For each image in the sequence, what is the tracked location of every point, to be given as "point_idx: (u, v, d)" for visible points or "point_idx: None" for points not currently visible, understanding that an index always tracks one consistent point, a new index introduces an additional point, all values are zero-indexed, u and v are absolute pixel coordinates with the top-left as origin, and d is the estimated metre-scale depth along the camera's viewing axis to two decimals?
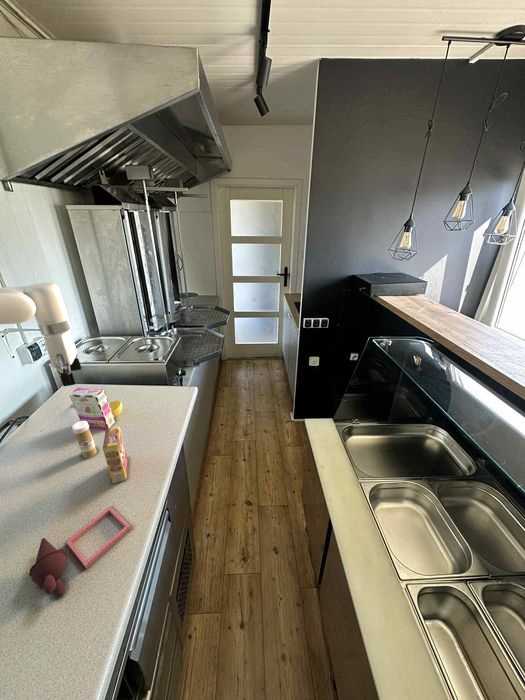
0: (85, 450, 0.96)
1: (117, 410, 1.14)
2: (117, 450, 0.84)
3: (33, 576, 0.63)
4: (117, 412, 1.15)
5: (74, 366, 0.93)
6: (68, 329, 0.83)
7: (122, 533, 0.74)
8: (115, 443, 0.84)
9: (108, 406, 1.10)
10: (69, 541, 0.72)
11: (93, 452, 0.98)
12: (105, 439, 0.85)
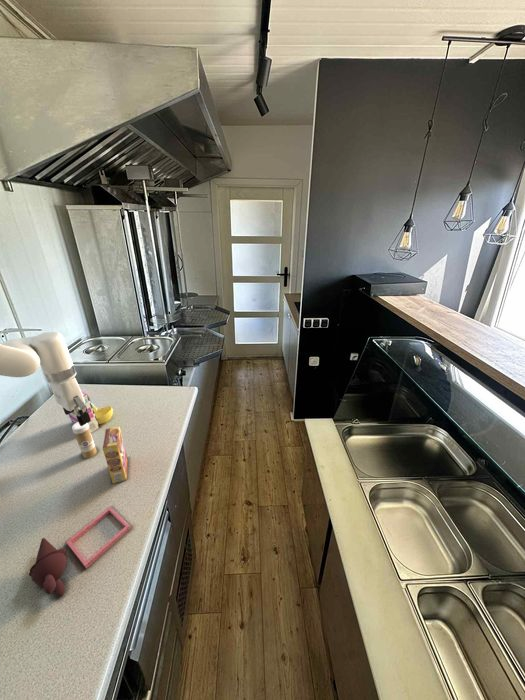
0: (85, 450, 0.96)
1: (102, 417, 1.11)
2: (117, 450, 0.84)
3: (33, 576, 0.63)
4: (103, 419, 1.11)
5: None
6: (75, 371, 0.87)
7: (122, 533, 0.74)
8: (115, 443, 0.84)
9: (91, 411, 1.07)
10: (69, 541, 0.72)
11: (93, 452, 0.98)
12: (105, 439, 0.85)
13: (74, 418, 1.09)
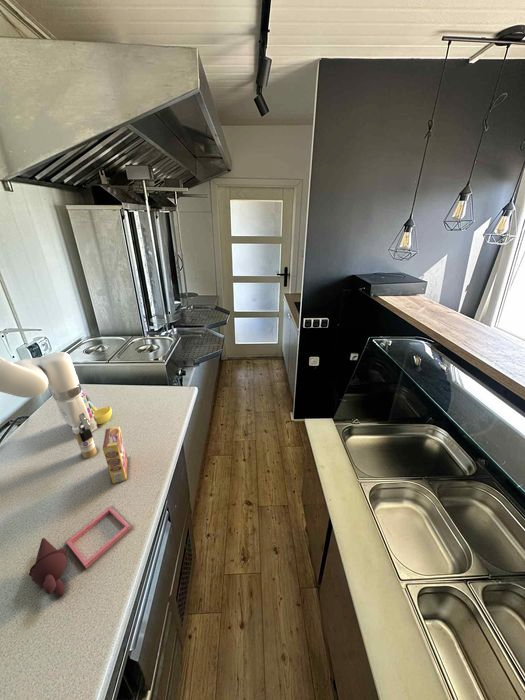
0: (85, 450, 0.96)
1: (101, 417, 1.11)
2: (117, 450, 0.84)
3: (33, 576, 0.63)
4: (102, 419, 1.11)
5: None
6: (81, 389, 0.90)
7: (122, 533, 0.74)
8: (115, 443, 0.84)
9: (90, 412, 1.07)
10: (69, 541, 0.72)
11: (93, 452, 0.98)
12: (105, 439, 0.85)
13: None
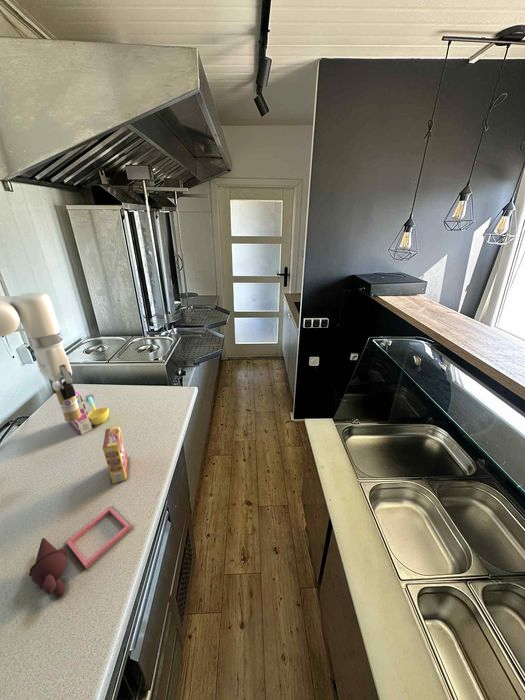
0: (67, 410, 0.86)
1: (96, 419, 1.10)
2: (117, 450, 0.84)
3: (33, 576, 0.63)
4: (96, 420, 1.10)
5: None
6: (62, 338, 0.80)
7: (122, 533, 0.74)
8: (115, 443, 0.84)
9: (84, 412, 1.07)
10: (69, 541, 0.72)
11: (76, 414, 0.88)
12: (105, 439, 0.85)
13: None
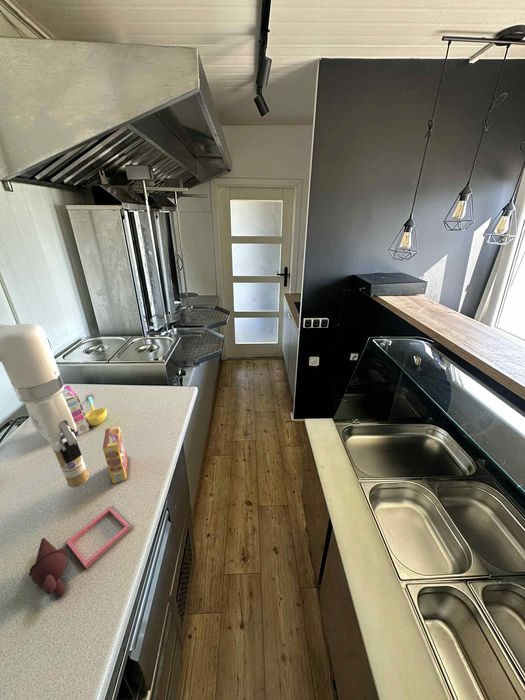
0: (71, 474, 0.64)
1: (93, 419, 1.10)
2: (117, 450, 0.84)
3: (33, 576, 0.63)
4: (94, 421, 1.10)
5: None
6: (63, 383, 0.58)
7: (122, 533, 0.74)
8: (115, 443, 0.84)
9: (81, 413, 1.06)
10: (69, 541, 0.72)
11: (83, 477, 0.67)
12: (105, 439, 0.85)
13: None
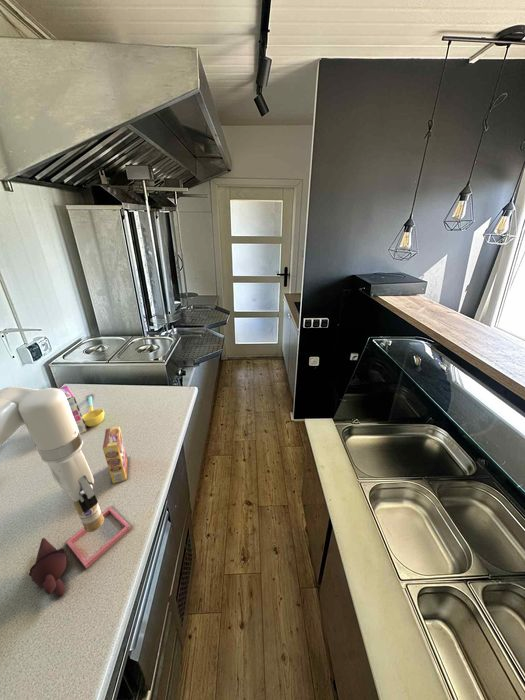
0: (88, 520, 0.68)
1: (90, 421, 1.09)
2: (117, 450, 0.84)
3: (33, 576, 0.63)
4: (91, 422, 1.09)
5: None
6: (81, 440, 0.62)
7: (122, 533, 0.74)
8: (115, 443, 0.84)
9: (78, 414, 1.06)
10: (69, 541, 0.72)
11: (99, 521, 0.70)
12: (105, 439, 0.85)
13: None
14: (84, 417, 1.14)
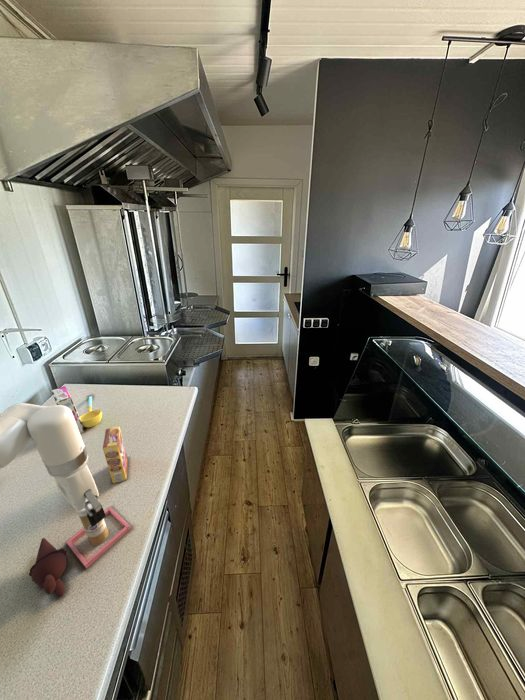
0: (93, 534, 0.70)
1: (87, 422, 1.08)
2: (117, 450, 0.84)
3: (33, 576, 0.63)
4: (88, 423, 1.09)
5: None
6: (87, 454, 0.64)
7: (122, 533, 0.74)
8: (115, 443, 0.84)
9: (75, 415, 1.05)
10: (69, 541, 0.72)
11: (104, 535, 0.73)
12: (105, 439, 0.85)
13: None
14: (82, 418, 1.14)
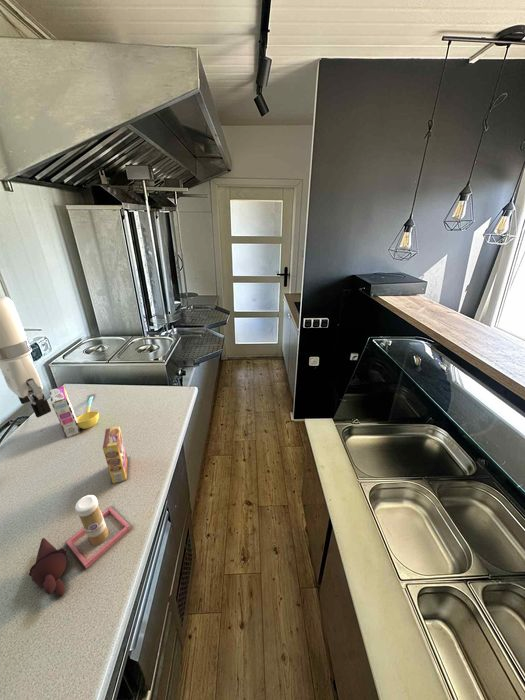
0: (93, 534, 0.70)
1: (83, 423, 1.08)
2: (117, 450, 0.84)
3: (33, 576, 0.63)
4: (83, 425, 1.08)
5: (27, 397, 0.77)
6: (31, 348, 0.70)
7: (122, 533, 0.74)
8: (115, 443, 0.84)
9: (71, 416, 1.05)
10: (69, 541, 0.72)
11: (104, 535, 0.73)
12: (105, 439, 0.85)
13: None
14: (79, 418, 1.13)
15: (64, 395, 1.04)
